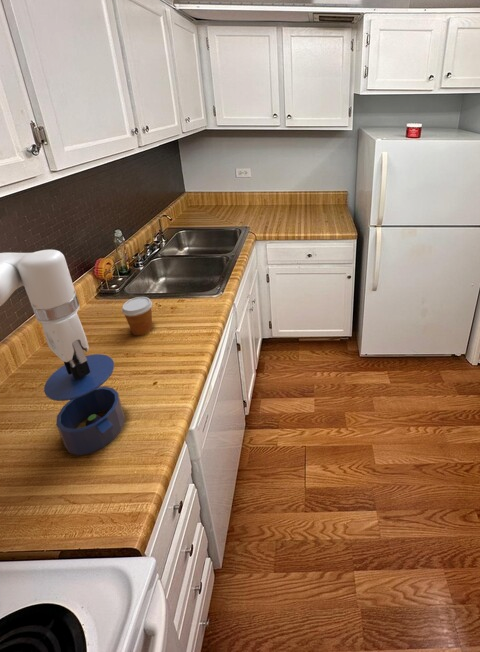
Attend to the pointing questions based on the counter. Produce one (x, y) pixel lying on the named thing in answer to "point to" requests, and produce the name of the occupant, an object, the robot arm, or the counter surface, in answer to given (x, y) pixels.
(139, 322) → the disposable coffee cup
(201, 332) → the counter surface
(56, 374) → the lid
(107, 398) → the pot
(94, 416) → the blackberry
